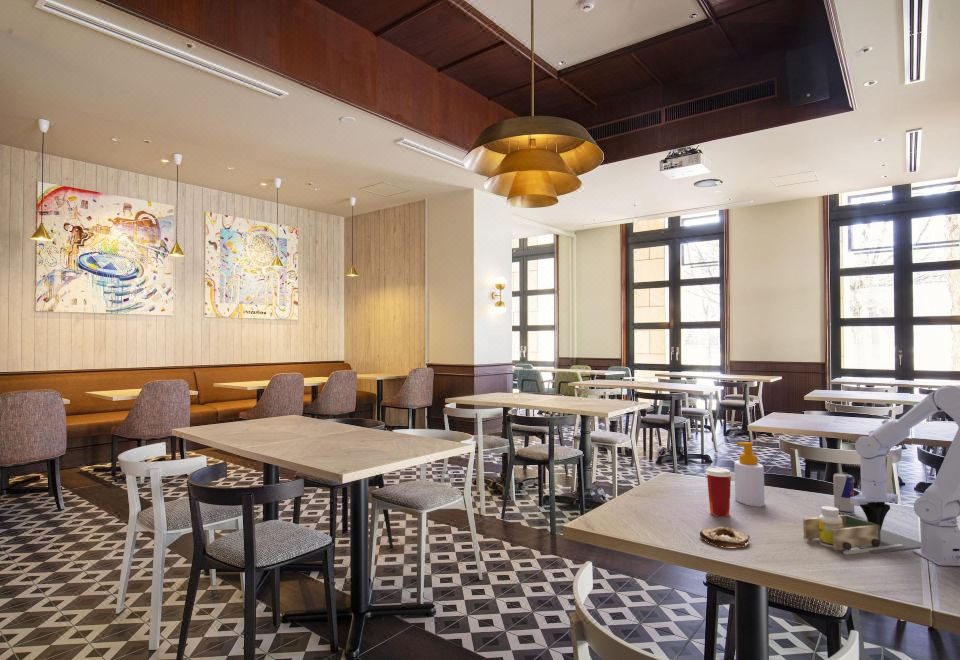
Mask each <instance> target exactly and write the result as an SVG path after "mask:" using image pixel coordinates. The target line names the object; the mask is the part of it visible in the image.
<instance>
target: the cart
mask: <svg viewBox="0 0 960 660" xmlns="http://www.w3.org/2000/svg"><path fill="white" fill-rule="evenodd" d="M838 516H839V517H840V518H841V519H842V524H843V528H840V529H833V548H832V549H833V550H834V551H837V550H845V551H850V550H852V549H853V548H855V549H856V548H858V547H864V546H872V545H874V546H877V547H878V546H879V545H880V544H881V536H880V525H878V524H874V523H871V522H868V520H864V519H861V518H858V517H856V516H853V515H846V514H845V515H843V514H839V515H838ZM802 522H803V523H802V524H803V535H804V537H805V538H804V537H803V538H804V539H806V538H807V539H813V538H812V537H816V538H820V537H819V516H818V517H807V518H803V519H802Z"/></svg>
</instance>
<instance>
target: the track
mask: <svg viewBox="0 0 960 660" xmlns="http://www.w3.org/2000/svg"><path fill="white" fill-rule="evenodd" d="M880 536H881V544H880V545H879V546H878V547H877V546H874V545H872V546H864V547H857V548H858V549H850V550H843V551H842V552H843V554H844V555H846V556H847V555H857V554H863V553H872V554H875V555H876V554H883V553H892V552H898V551H899V550H900V551H906V550H905V549H908V550H915V549H914V548H916V549H921V541H919V540H915V539H913V538H910V537H906V536H903V535H900V534H897V533H894V532H891V531H888V530H885V529H882V528H881V531H880ZM814 538H817V537H812V538H811V539H814ZM803 539H808V538H805V537H804V534H803Z"/></svg>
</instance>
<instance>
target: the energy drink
mask: <svg viewBox="0 0 960 660" xmlns="http://www.w3.org/2000/svg"><path fill="white" fill-rule="evenodd" d="M832 477H833V479H832V480H833V503H834V504H833V507H835V508H838V509H839V513H840V514H839V515H843V514H844V515H845V514H846V515H849V516H853V515H855V505H852V504H851V502H850V497H854V496H855V489H854V488H855V487H854V478H853V475H851V474H848V473H841V472H840V473H839V472H837V473H834V474H833V476H832Z"/></svg>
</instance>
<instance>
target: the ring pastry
mask: <svg viewBox="0 0 960 660" xmlns="http://www.w3.org/2000/svg"><path fill="white" fill-rule="evenodd" d="M699 536H700V539H701V538H702V539H701V540H703V539H704V540H706V541H707V542H709V543H712V544H714V545H713V546H715V545H717V546H723V547H742V548H744V547H743V546H745V543H747V542H749V540H750V538H751V536H750V535H749V534H747V533H746V532H744V531H743V530H742V531H741V530H738V529H735V528H730V527H728V526H713V527H707V528H703V529H701V531H700V532H699ZM704 540H703V541H704ZM709 543H708V544H709ZM712 544H711V545H712ZM717 546H716V547H717Z"/></svg>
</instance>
